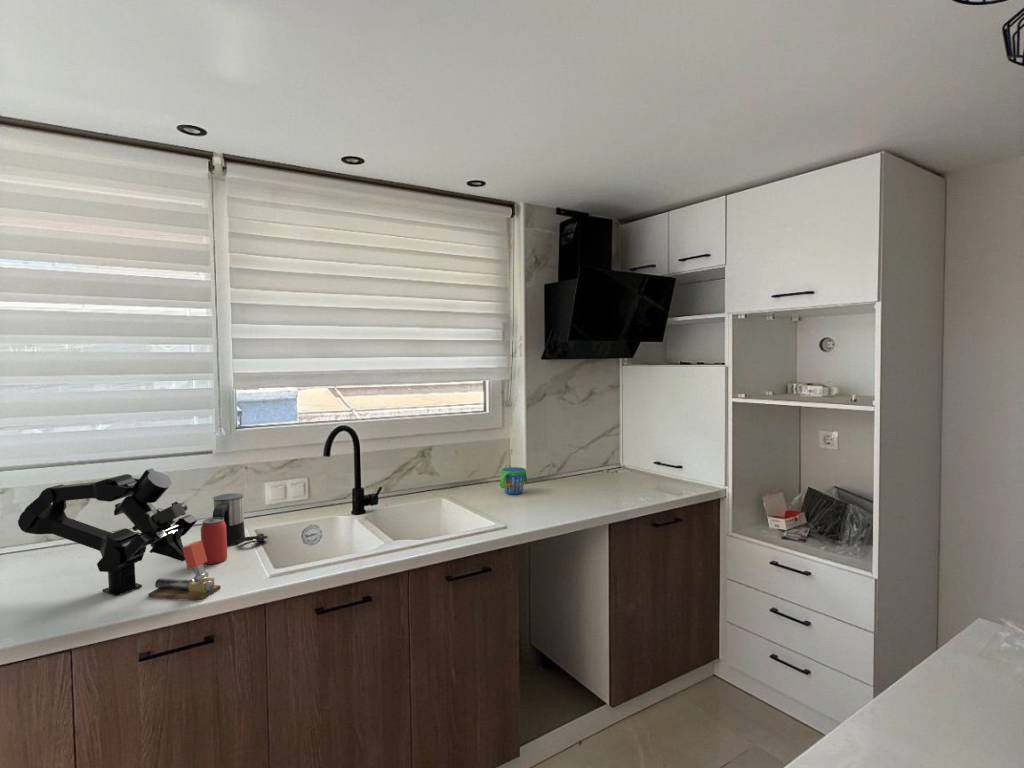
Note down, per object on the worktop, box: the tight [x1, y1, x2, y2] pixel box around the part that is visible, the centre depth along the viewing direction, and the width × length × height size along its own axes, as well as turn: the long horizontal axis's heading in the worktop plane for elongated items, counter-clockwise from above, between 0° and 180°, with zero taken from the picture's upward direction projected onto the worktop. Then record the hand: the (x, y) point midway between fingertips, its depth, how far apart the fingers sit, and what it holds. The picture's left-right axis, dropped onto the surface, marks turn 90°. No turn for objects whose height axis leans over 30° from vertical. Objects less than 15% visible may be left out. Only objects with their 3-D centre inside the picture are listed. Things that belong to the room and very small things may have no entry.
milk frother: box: [212, 492, 269, 546], centre depth 182 cm, size 14×16×15 cm
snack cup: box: [499, 466, 528, 496], centre depth 243 cm, size 16×10×10 cm
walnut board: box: [147, 584, 221, 601], centre depth 144 cm, size 14×7×1 cm, turn 81°
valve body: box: [154, 577, 215, 594], centre depth 144 cm, size 14×4×3 cm, turn 81°
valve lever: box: [182, 539, 209, 582], centre depth 143 cm, size 2×4×9 cm, turn 171°
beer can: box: [200, 517, 228, 565], centre depth 166 cm, size 7×7×12 cm
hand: (185, 559), depth 143 cm, fingers closed
